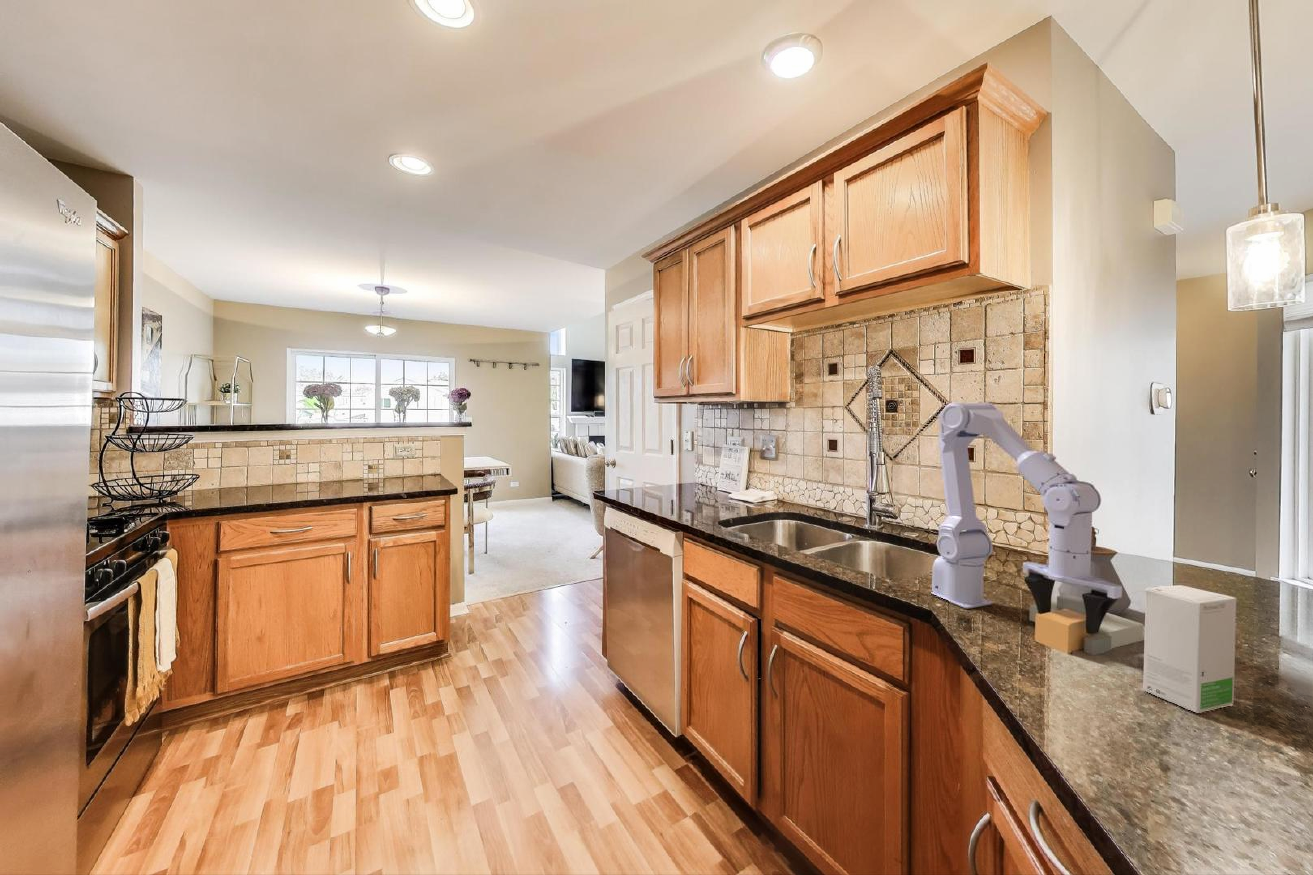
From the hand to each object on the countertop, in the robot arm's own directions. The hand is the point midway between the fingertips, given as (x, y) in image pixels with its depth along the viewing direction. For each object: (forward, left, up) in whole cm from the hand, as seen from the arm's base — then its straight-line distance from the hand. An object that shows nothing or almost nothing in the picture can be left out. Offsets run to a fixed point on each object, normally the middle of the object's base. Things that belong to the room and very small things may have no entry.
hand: (1067, 623), depth 87 cm
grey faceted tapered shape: (-11, +27, -4) cm, 29 cm away
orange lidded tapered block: (0, 0, -4) cm, 4 cm away
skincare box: (+17, -3, -4) cm, 18 cm away
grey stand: (-2, +7, -4) cm, 8 cm away
